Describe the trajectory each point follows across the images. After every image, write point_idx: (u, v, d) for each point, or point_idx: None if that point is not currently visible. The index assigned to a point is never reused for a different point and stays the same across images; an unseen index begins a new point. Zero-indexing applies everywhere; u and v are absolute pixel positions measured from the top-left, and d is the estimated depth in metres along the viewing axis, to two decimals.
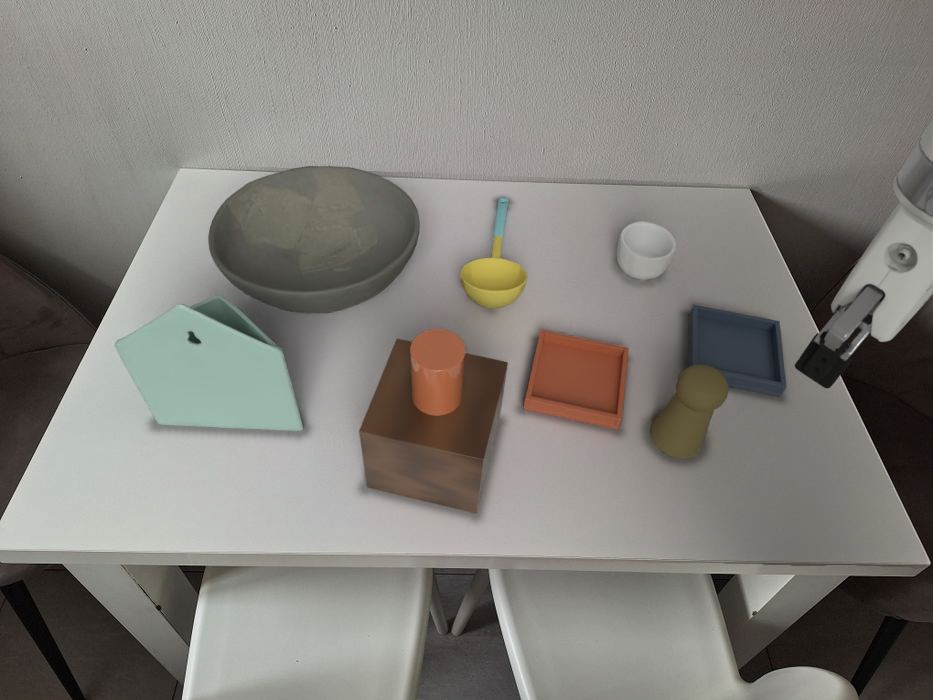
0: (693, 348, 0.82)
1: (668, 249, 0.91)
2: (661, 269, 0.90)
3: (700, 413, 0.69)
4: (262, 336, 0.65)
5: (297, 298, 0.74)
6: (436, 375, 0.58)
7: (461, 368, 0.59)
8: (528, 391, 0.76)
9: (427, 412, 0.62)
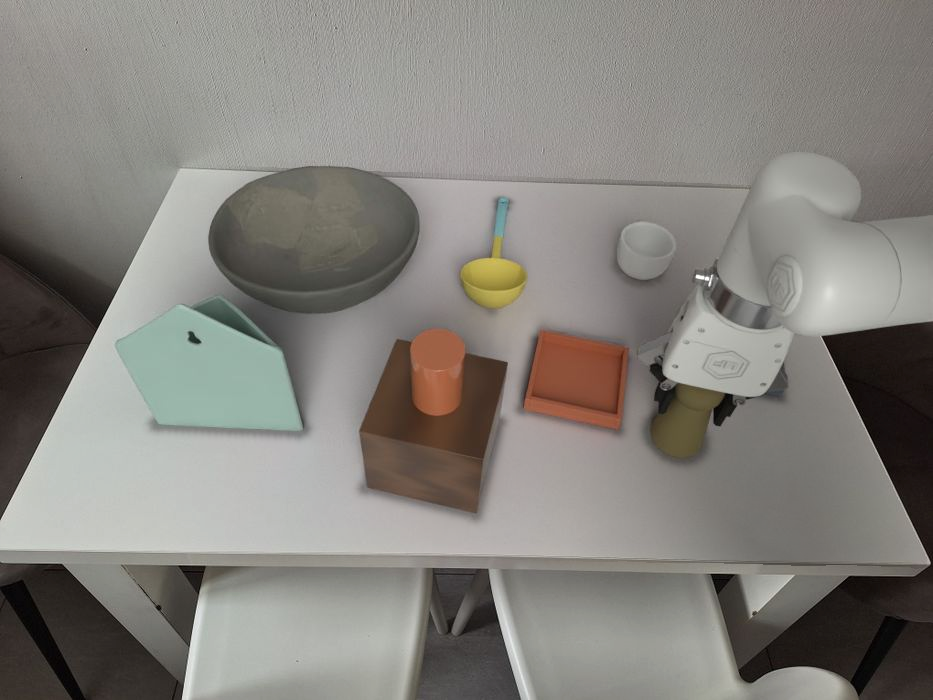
0: None
1: (668, 249, 0.91)
2: (661, 269, 0.90)
3: (698, 412, 0.69)
4: (262, 336, 0.65)
5: (297, 298, 0.74)
6: (436, 375, 0.58)
7: (461, 368, 0.59)
8: (528, 391, 0.76)
9: (427, 412, 0.62)
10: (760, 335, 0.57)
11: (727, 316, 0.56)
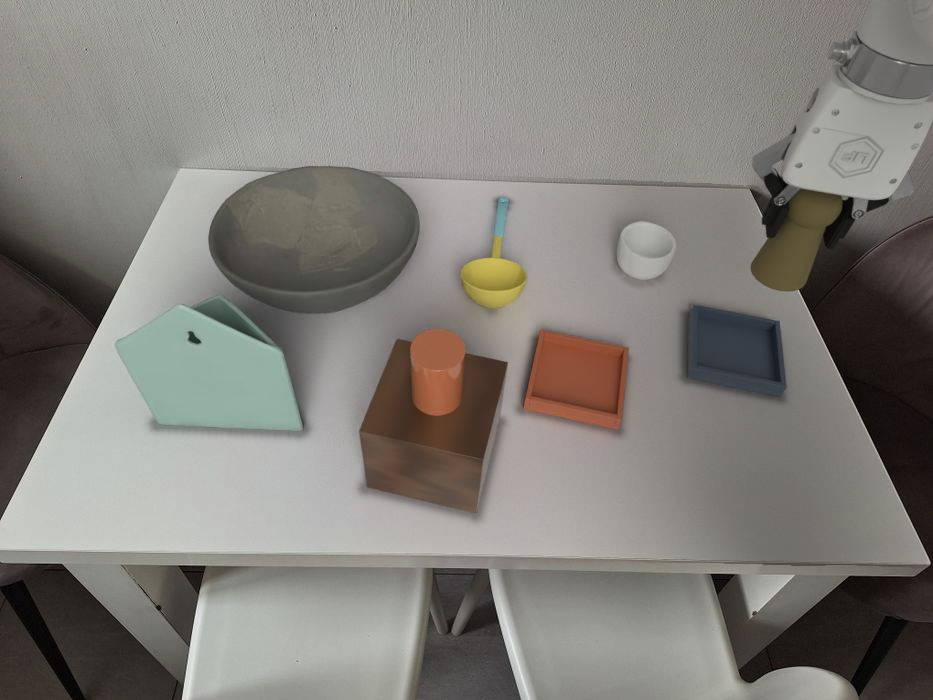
0: (693, 348, 0.82)
1: (668, 250, 0.91)
2: (661, 269, 0.90)
3: (812, 231, 0.66)
4: (262, 336, 0.65)
5: (297, 298, 0.74)
6: (436, 375, 0.58)
7: (461, 368, 0.59)
8: (528, 391, 0.76)
9: (427, 412, 0.62)
10: (901, 112, 0.54)
11: (869, 86, 0.53)
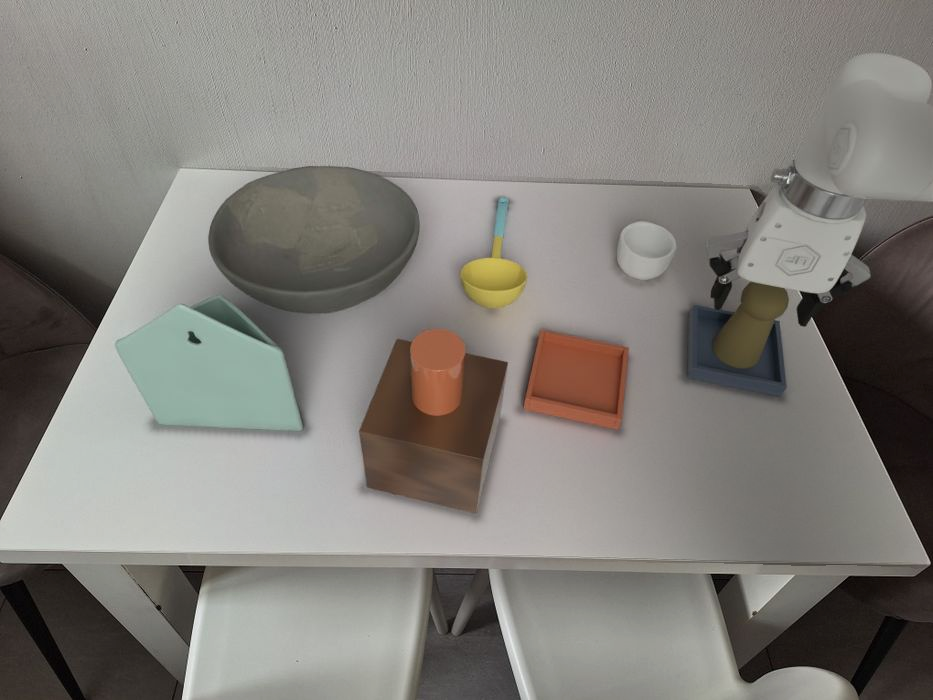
0: (693, 348, 0.82)
1: (668, 250, 0.91)
2: (661, 269, 0.90)
3: (763, 322, 0.77)
4: (262, 336, 0.65)
5: (297, 298, 0.74)
6: (436, 375, 0.58)
7: (461, 368, 0.59)
8: (528, 391, 0.76)
9: (427, 412, 0.62)
10: (832, 227, 0.64)
11: (804, 208, 0.63)
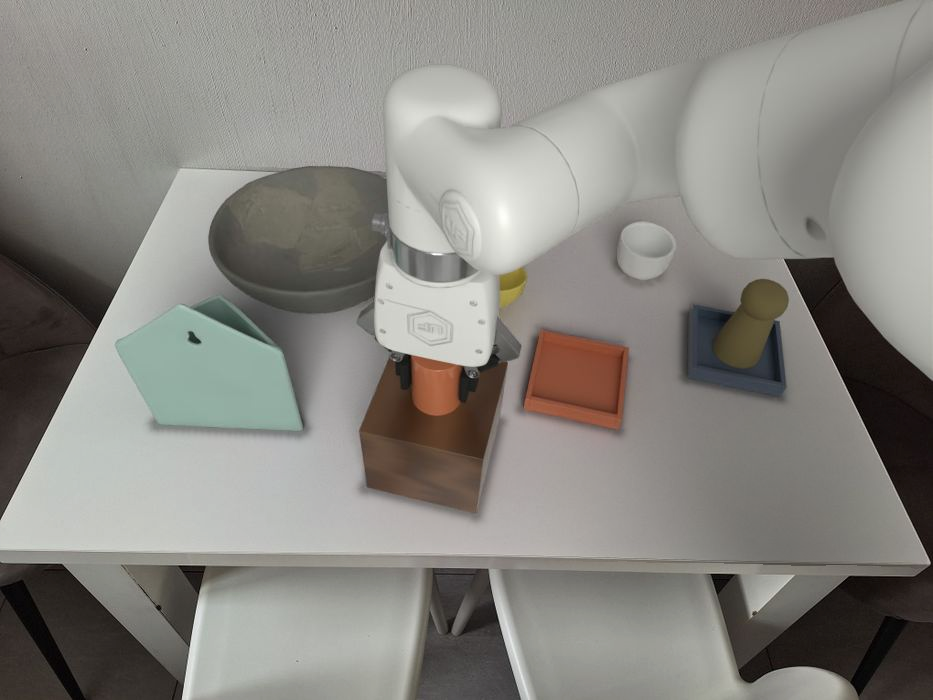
0: (693, 348, 0.82)
1: (668, 250, 0.91)
2: (661, 269, 0.90)
3: (763, 322, 0.77)
4: (262, 336, 0.65)
5: (297, 298, 0.74)
6: (436, 375, 0.58)
7: (461, 368, 0.59)
8: (528, 391, 0.76)
9: (427, 412, 0.62)
10: (449, 291, 0.49)
11: (402, 267, 0.48)
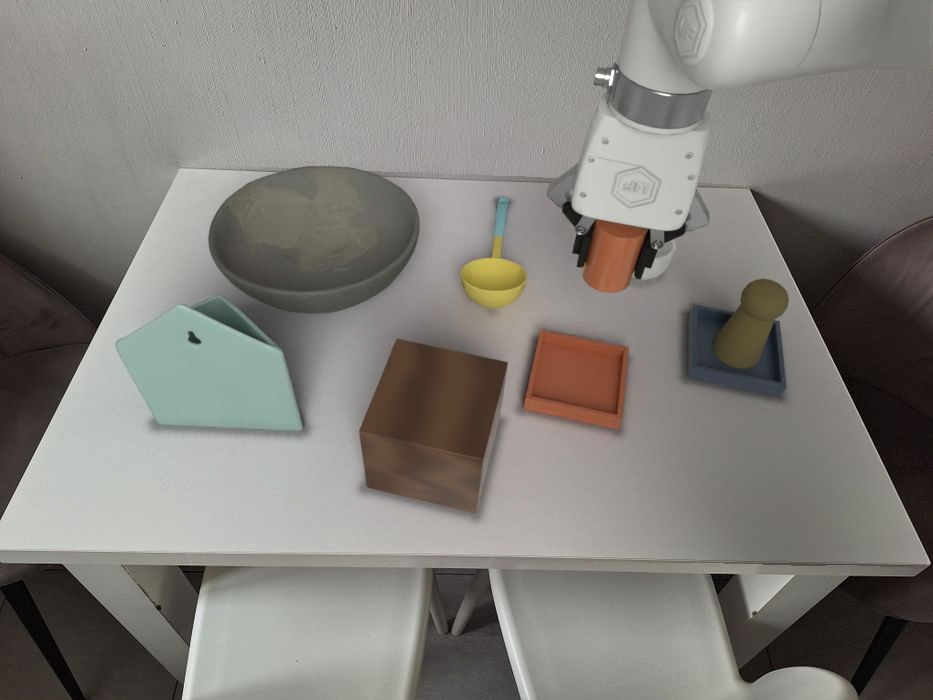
0: (693, 348, 0.82)
1: (668, 250, 0.91)
2: (661, 269, 0.90)
3: (763, 322, 0.77)
4: (262, 336, 0.65)
5: (297, 298, 0.74)
6: (623, 244, 0.60)
7: None
8: (528, 391, 0.76)
9: (601, 289, 0.65)
10: (668, 141, 0.51)
11: (629, 115, 0.50)
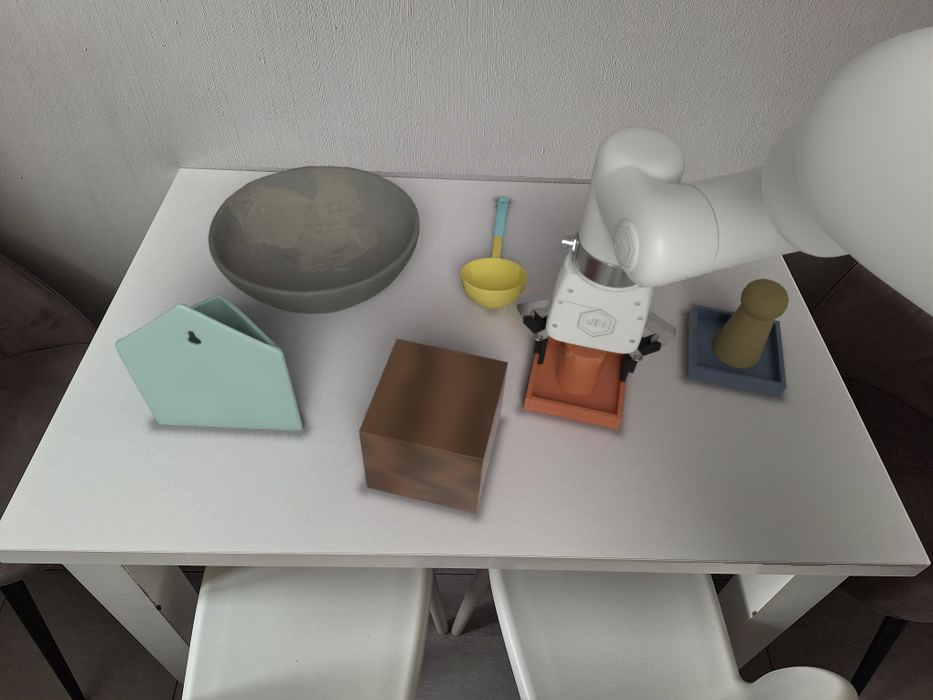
0: (693, 348, 0.82)
1: None
2: None
3: (763, 322, 0.77)
4: (262, 336, 0.65)
5: (297, 298, 0.74)
6: (588, 362, 0.73)
7: (605, 357, 0.74)
8: (528, 391, 0.76)
9: (572, 393, 0.78)
10: (620, 294, 0.64)
11: (588, 276, 0.63)
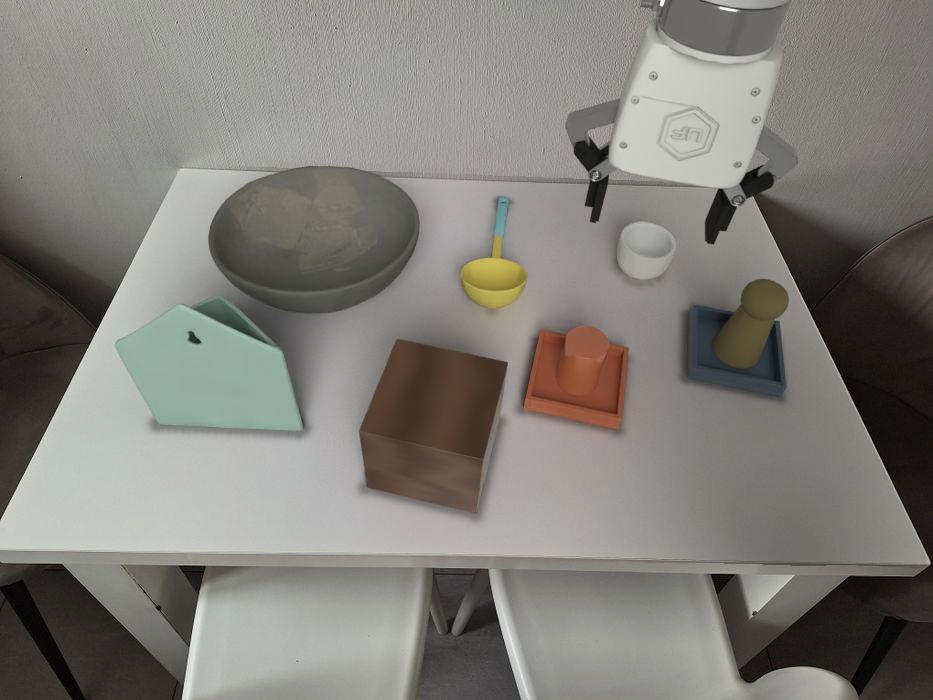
0: (693, 348, 0.82)
1: (668, 250, 0.91)
2: (661, 269, 0.90)
3: (763, 322, 0.77)
4: (262, 336, 0.65)
5: (297, 298, 0.74)
6: (588, 362, 0.73)
7: (605, 357, 0.74)
8: (528, 391, 0.76)
9: (572, 393, 0.78)
10: (731, 74, 0.42)
11: (685, 40, 0.41)
